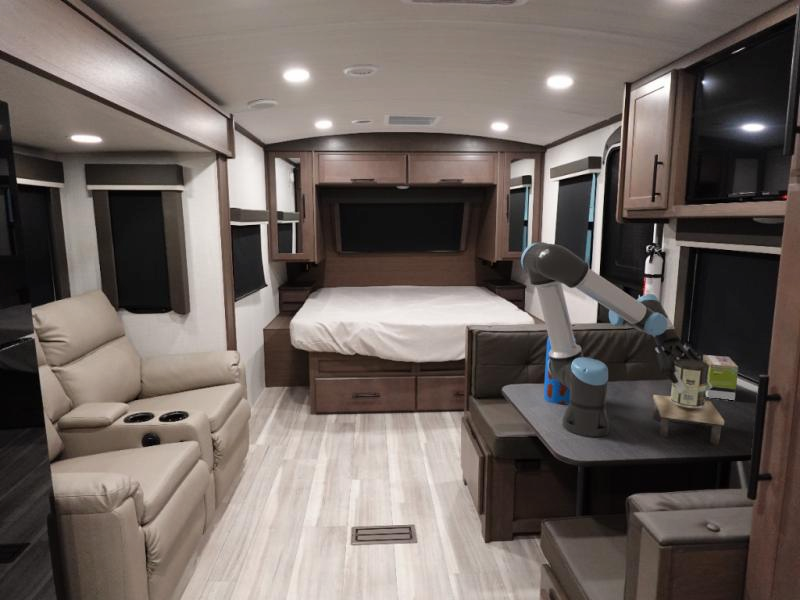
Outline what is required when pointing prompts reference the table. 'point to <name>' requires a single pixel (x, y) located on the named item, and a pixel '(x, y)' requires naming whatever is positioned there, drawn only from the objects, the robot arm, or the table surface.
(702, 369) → the coffee can
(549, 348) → the thermos
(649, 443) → the table surface
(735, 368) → the tea box
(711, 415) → the small wooden table
